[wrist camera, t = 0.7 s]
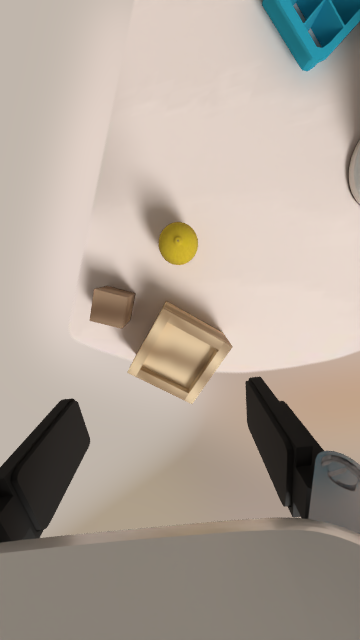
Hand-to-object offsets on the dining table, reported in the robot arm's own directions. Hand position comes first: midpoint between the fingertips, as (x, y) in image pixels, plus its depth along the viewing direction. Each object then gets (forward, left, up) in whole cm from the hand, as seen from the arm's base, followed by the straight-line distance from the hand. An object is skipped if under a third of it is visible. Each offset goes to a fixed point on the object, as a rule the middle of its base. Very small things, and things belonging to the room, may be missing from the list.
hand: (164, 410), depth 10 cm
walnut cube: (+6, -8, -24) cm, 26 cm away
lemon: (-8, -7, -24) cm, 26 cm away
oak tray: (+4, +5, -24) cm, 24 cm away
